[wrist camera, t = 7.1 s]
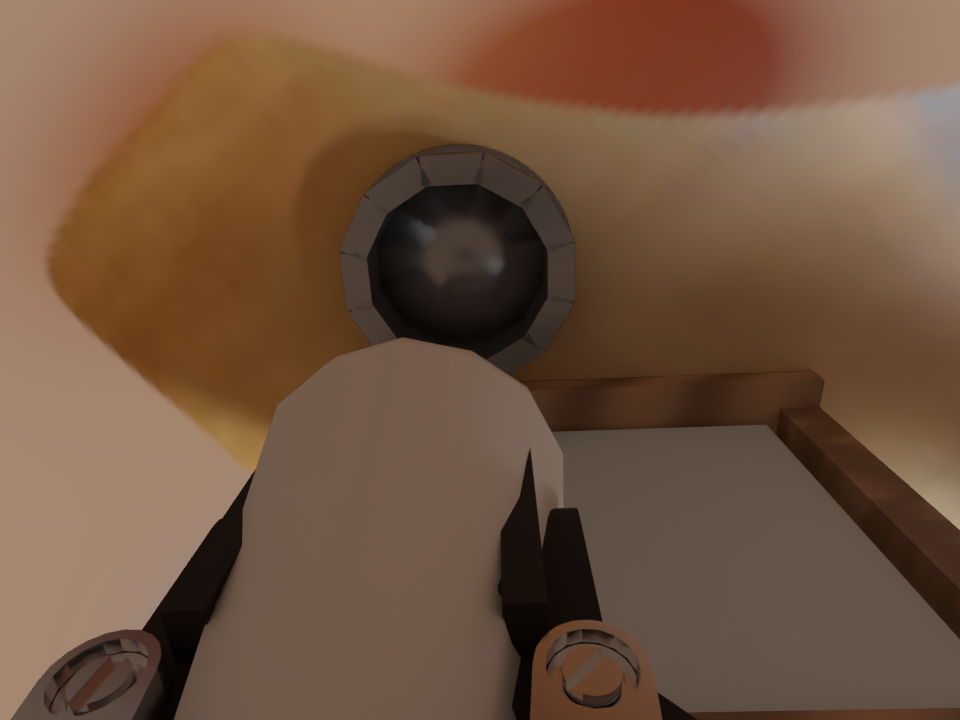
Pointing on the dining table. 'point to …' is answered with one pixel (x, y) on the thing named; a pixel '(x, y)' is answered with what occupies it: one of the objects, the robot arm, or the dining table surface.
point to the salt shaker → (378, 546)
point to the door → (749, 576)
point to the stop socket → (461, 256)
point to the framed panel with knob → (823, 452)
